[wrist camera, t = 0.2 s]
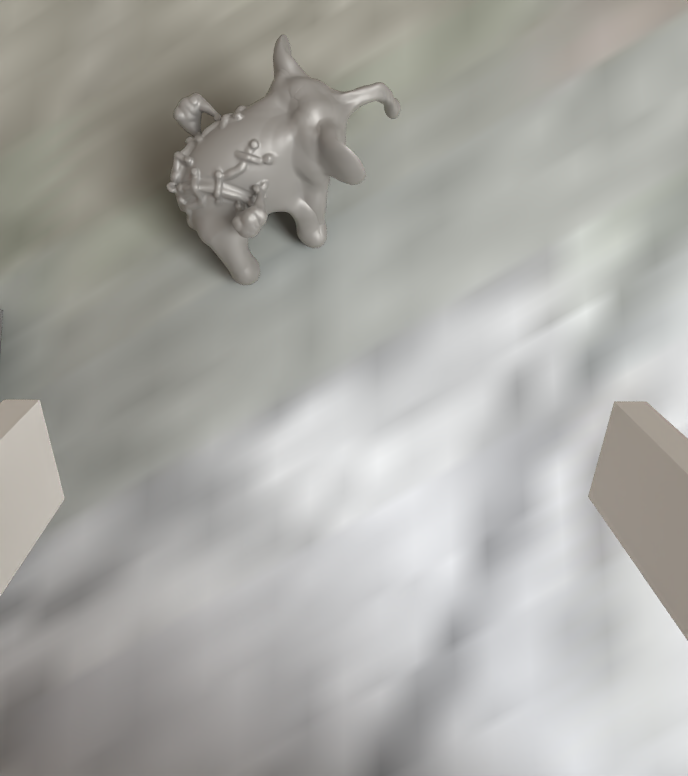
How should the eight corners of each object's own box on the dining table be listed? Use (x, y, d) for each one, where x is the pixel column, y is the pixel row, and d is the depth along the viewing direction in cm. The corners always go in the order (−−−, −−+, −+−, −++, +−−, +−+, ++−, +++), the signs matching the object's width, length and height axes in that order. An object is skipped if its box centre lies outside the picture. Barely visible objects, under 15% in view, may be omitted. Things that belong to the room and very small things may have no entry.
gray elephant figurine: (154, 211, 31) (94, 127, 23) (301, 68, 32) (290, -56, 24) (274, 320, 30) (252, 269, 22) (420, 169, 31) (446, 73, 24)
